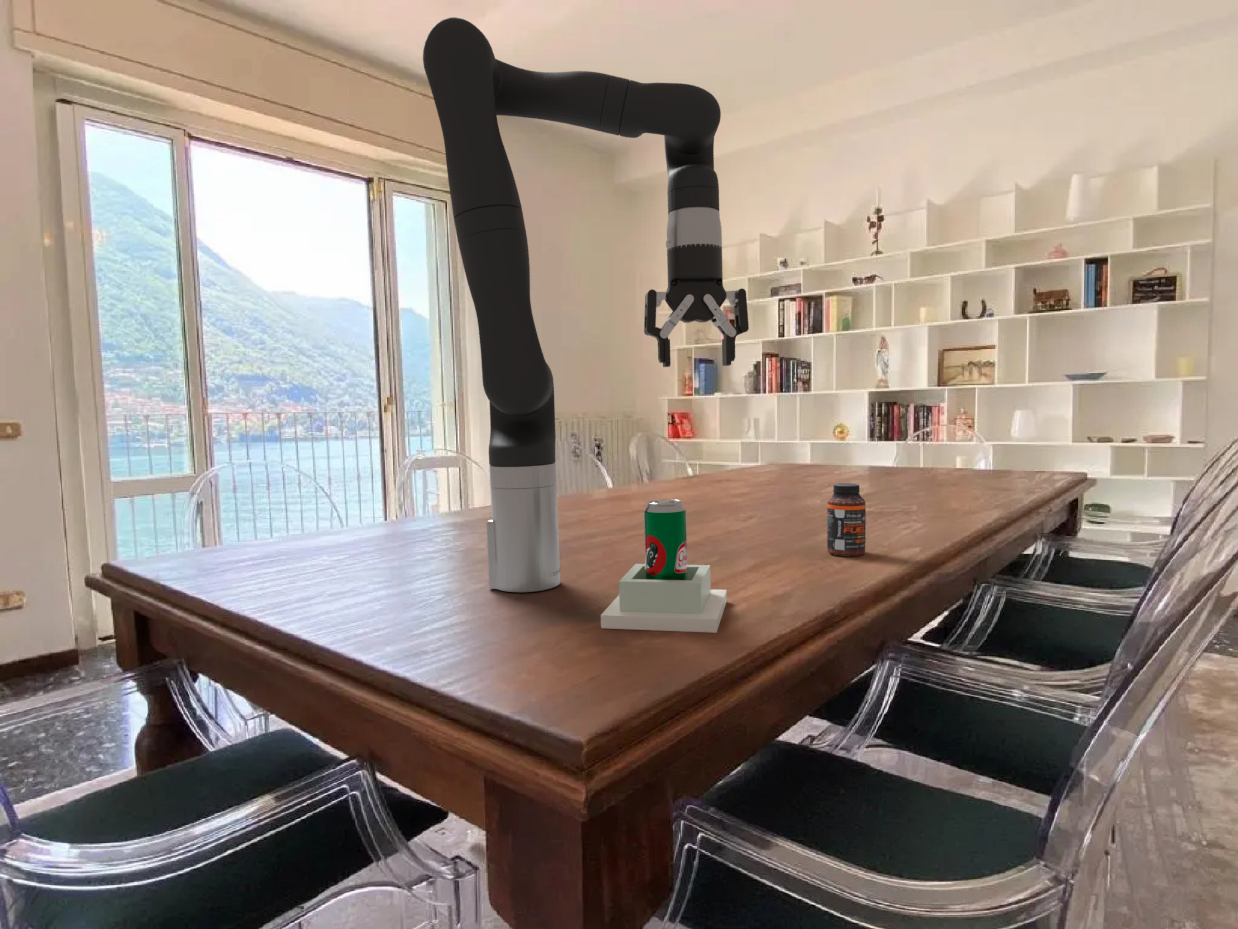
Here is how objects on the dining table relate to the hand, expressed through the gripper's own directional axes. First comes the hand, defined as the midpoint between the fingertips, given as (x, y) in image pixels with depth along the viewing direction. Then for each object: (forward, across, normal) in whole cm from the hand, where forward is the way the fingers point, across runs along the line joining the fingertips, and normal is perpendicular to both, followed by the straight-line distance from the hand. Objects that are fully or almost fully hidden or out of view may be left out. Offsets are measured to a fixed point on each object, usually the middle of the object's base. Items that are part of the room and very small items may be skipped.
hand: (697, 366), depth 104 cm
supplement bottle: (+30, +27, +12) cm, 42 cm away
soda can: (+29, -8, -16) cm, 34 cm away
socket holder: (+30, -8, -16) cm, 35 cm away
